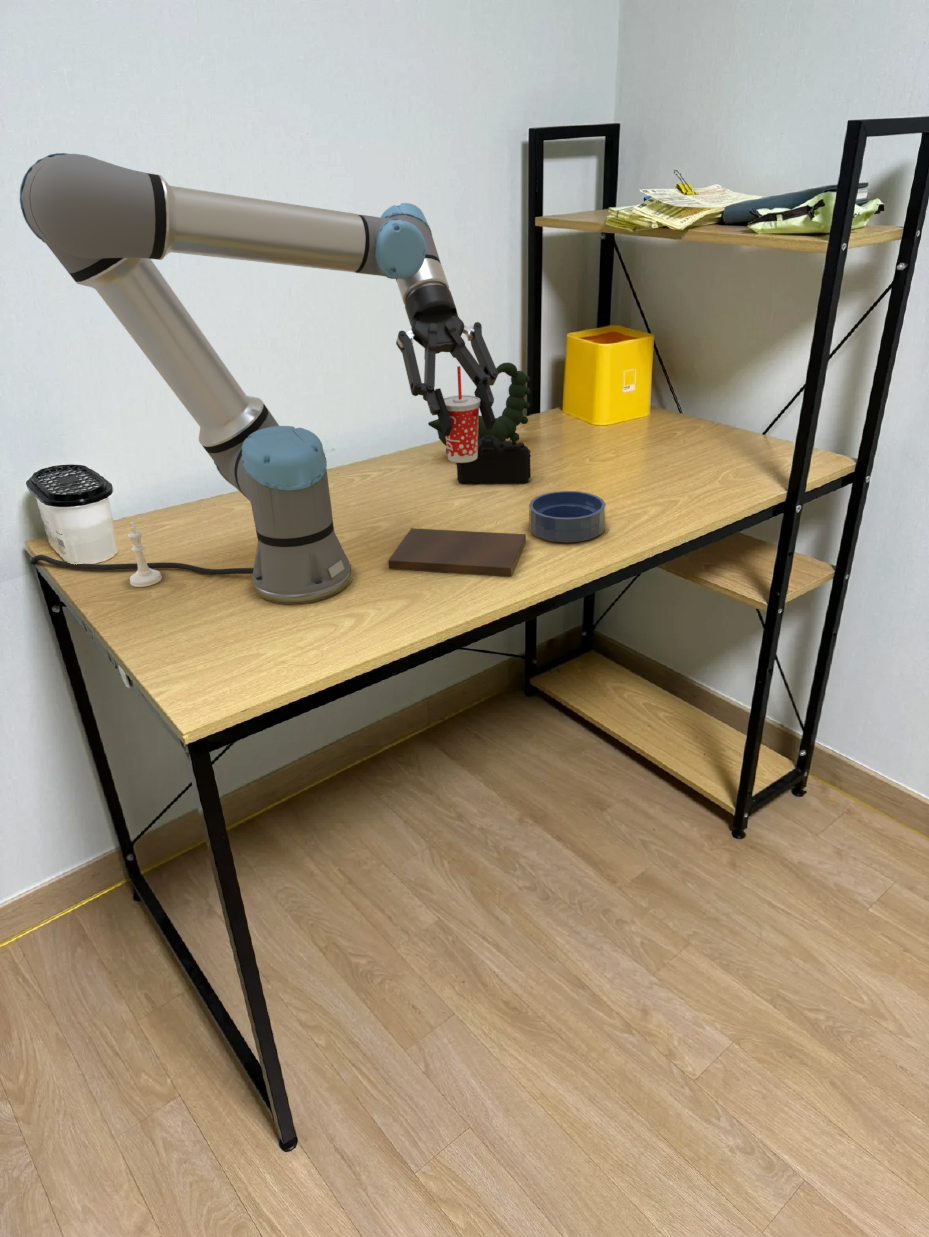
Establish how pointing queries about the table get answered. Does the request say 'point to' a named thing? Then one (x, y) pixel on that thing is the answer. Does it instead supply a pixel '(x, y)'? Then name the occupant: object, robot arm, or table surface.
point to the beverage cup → (462, 426)
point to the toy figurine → (510, 414)
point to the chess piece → (141, 563)
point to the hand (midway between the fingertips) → (469, 428)
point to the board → (458, 552)
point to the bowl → (567, 516)
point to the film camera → (496, 463)
